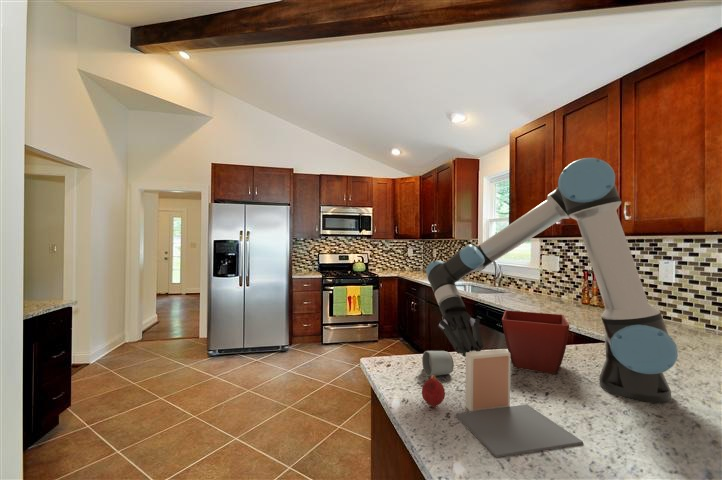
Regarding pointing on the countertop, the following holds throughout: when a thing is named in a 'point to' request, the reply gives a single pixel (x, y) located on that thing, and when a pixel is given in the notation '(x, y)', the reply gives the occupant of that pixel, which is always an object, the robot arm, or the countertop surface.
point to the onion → (433, 392)
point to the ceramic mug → (437, 363)
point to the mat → (516, 430)
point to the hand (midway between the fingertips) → (481, 376)
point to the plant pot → (536, 340)
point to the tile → (487, 380)
